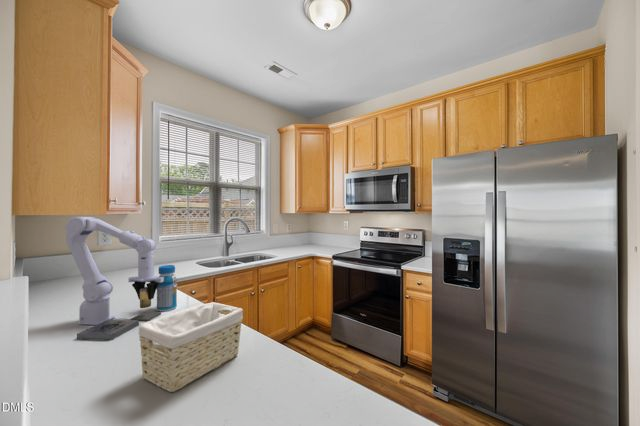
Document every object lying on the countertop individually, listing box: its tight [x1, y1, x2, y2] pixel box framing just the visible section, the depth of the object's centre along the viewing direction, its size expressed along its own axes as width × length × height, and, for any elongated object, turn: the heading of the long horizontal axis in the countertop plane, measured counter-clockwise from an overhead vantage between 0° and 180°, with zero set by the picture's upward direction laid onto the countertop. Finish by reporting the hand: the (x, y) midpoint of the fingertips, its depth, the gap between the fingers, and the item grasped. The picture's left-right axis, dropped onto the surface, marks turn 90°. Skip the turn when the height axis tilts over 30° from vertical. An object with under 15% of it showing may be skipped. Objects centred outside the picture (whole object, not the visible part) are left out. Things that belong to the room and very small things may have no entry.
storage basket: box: [138, 301, 244, 393], centre depth 78 cm, size 24×16×15 cm
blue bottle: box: [156, 264, 178, 312], centre depth 126 cm, size 8×8×20 cm
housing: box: [76, 319, 140, 341], centre depth 101 cm, size 13×13×2 cm
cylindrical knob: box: [139, 286, 152, 309], centre depth 115 cm, size 4×4×8 cm
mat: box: [129, 311, 162, 322], centre depth 115 cm, size 8×8×1 cm
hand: (146, 298), depth 115 cm, fingers closed on cylindrical knob, 4 cm apart
